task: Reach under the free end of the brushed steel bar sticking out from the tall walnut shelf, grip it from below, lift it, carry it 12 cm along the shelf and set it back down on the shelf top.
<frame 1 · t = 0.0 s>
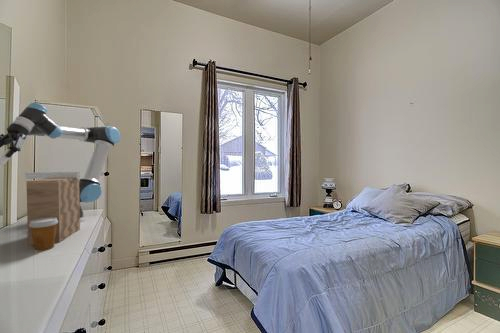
walnut shelf: (56, 236, 120), on the dresser top
disposable coffee cup: (44, 248, 104), on the dresser top
steel bar: (53, 178, 125), point 28 cm above the dresser top, touching walnut shelf
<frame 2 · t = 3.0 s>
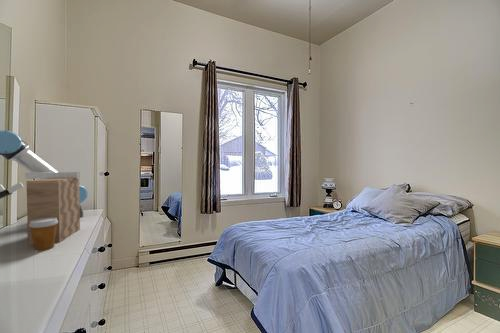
hand: (13, 185, 121), 25 cm above the dresser top, tool pointing upward, fingers open, 13 cm apart
nothing on the dresser top moved.
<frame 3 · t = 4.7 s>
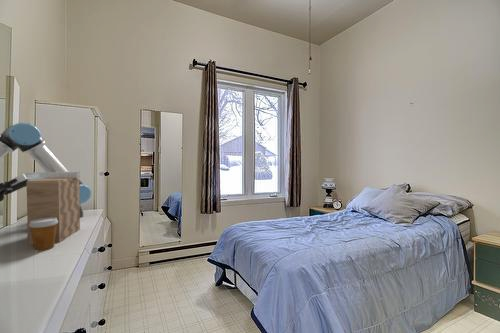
hand: (33, 175, 122), 30 cm above the dresser top, tool pointing upward, fingers open, 13 cm apart
nothing on the dresser top moved.
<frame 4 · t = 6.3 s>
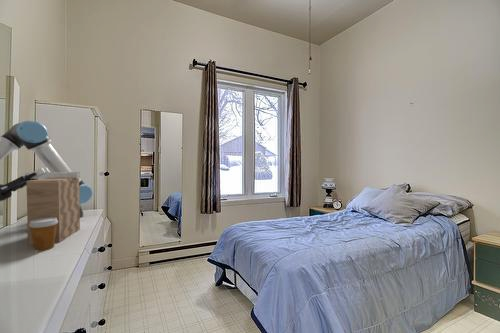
hand: (45, 170, 124), 32 cm above the dresser top, tool pointing upward, fingers closed on steel bar, 3 cm apart
steel bar: (53, 178, 125), point 28 cm above the dresser top, touching gripper, walnut shelf
everything else where it was.
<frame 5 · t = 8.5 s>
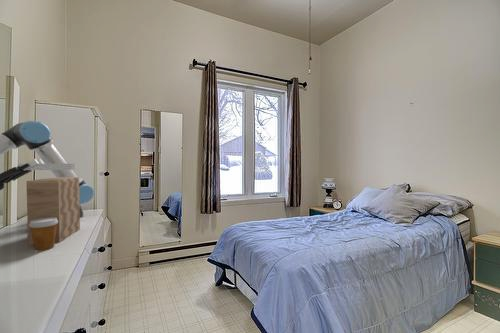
hand: (39, 161, 120), 37 cm above the dresser top, tool pointing upward, fingers closed on steel bar, 3 cm apart
steel bar: (47, 169, 121), point 32 cm above the dresser top, touching gripper
everything else where it was.
when the fingers open (34 cm above the dresser top, at t = 10.6 s): steel bar drops 2 cm, resting on walnut shelf.
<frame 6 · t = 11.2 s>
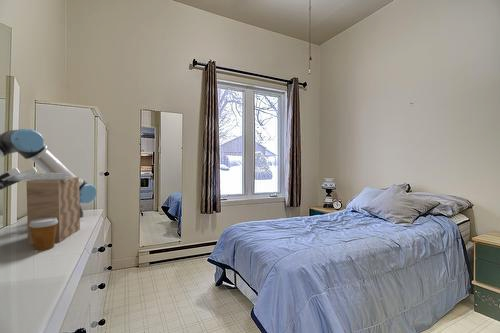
hand: (27, 169, 112), 33 cm above the dresser top, tool pointing upward, fingers open, 12 cm apart
steel bar: (39, 180, 113), point 28 cm above the dresser top, touching walnut shelf
everything else where it was.
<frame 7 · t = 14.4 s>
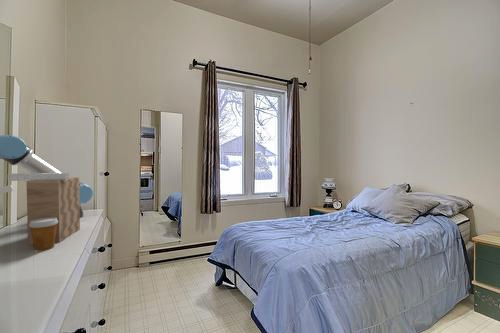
hand: (3, 185, 113), 25 cm above the dresser top, tool pointing upward, fingers open, 13 cm apart
nothing on the dresser top moved.
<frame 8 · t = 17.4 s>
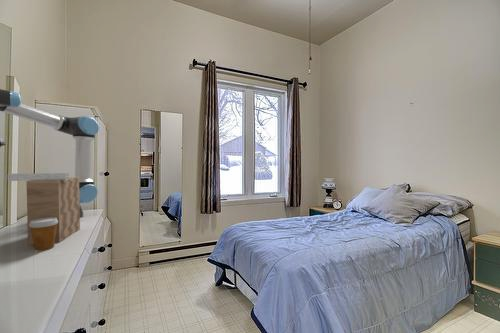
nothing on the dresser top moved.
at the end: steel bar inside the target area (0.1 cm from its centre), point 28.0 cm above the dresser top; steel bar touching walnut shelf; the gripper is holding nothing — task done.
